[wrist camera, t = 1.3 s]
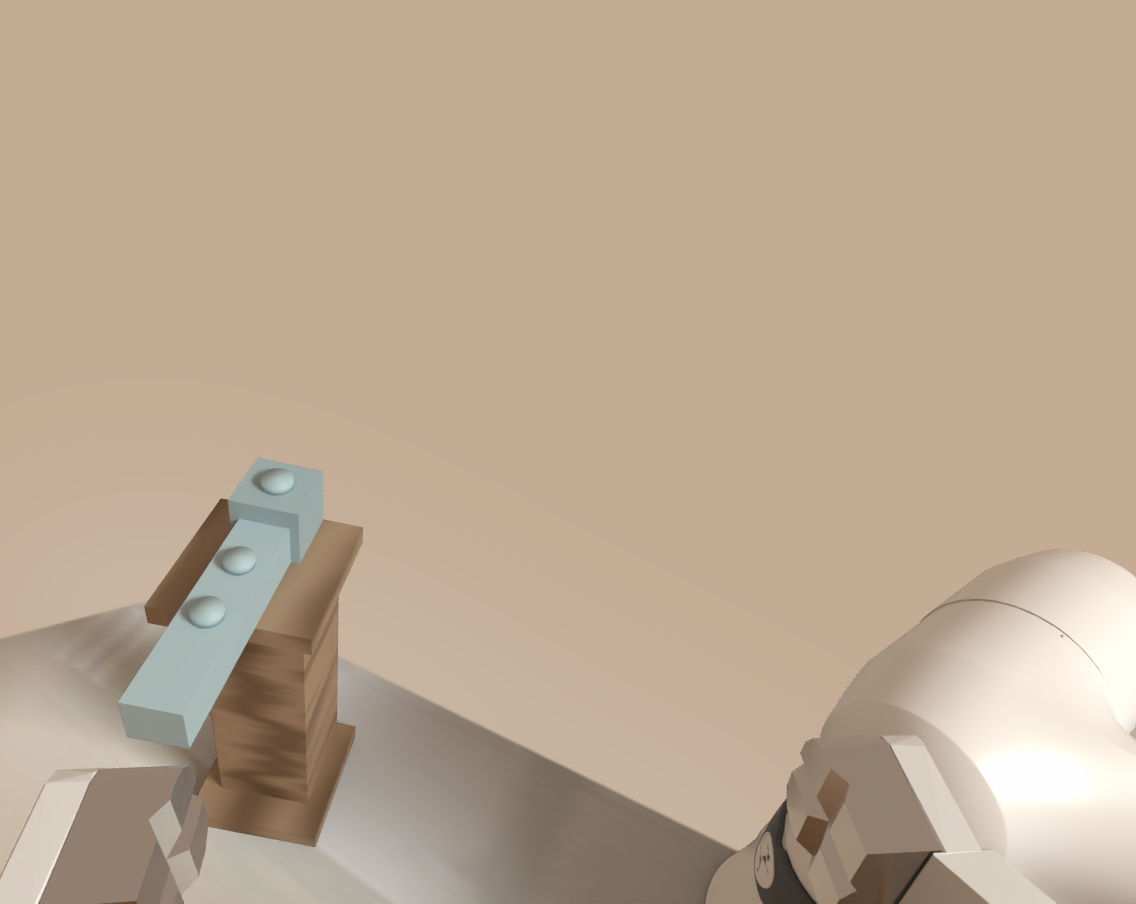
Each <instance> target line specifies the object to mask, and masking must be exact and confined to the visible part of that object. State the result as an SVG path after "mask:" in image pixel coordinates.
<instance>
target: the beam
mask: <svg viewBox="0 0 1136 904" xmlns="http://www.w3.org/2000/svg"><path fill="white" fill-rule="evenodd" d="M228 506H229V516H230V526H231V532H230V533H229V535H228V536H227V538H226V539H225V541H224V542H223V544H222V545H221V547H220V548H219V550H218V551H217V553H216V554H215V556H214V557H213V559H212V560H211V562H210V563H209V565H208V567H207V568H206V570H205V571H204V573H203V574H202V576H201V577H200V579H199V580H198V582H197V583H196V585H195V586H194V588H193V589H192V591H191V592H190V594H189V595H188V597H187V598H186V600H185V601H184V603H183V604H182V606H181V607H180V609H179V610H178V612H177V614H176V615H175V617H174V618H173V620H172V621H171V623H170V624H169V626H168V627H167V629H166V630H165V632H164V633H163V635H162V636H161V638H160V639H159V641H158V642H157V644H156V645H155V647H154V648H153V650H152V651H151V653H150V654H149V656H148V657H147V659H146V660H145V662H144V664H143V665H142V667H141V668H140V670H139V671H138V673H137V674H136V676H135V677H134V679H133V680H132V682H131V683H130V685H129V686H128V688H127V689H126V691H125V692H124V694H123V695H122V697H121V698H120V700H119V701H118V705H119V709H120V712H121V716H122V720H123V723H124V727H125V731H126V734H127V737H130V738H135V739H141V740H146V741H151V742H156V743H161V744H166V745H172V746H177V747H182V748H187V749H190V747H191V745H192V743H193V742H194V740H195V738H196V736H197V734H198V732H199V731H200V729H201V727H202V725H203V723H204V721H205V719H206V718H207V716H208V714H209V712H210V710H211V708H212V707H213V705H214V703H215V701H216V699H217V697H218V695H219V694H220V692H221V690H222V688H223V686H224V684H225V683H226V681H227V679H228V677H229V675H230V673H231V672H232V670H233V668H234V666H235V664H236V662H237V660H238V659H239V657H240V655H241V653H242V651H243V649H244V648H245V646H246V644H247V642H248V640H249V638H250V636H251V635H252V633H253V631H254V629H255V627H256V625H257V624H258V622H259V620H260V618H261V616H262V614H263V612H264V611H265V609H266V607H267V605H268V603H269V601H270V600H271V598H272V596H273V594H274V592H275V590H276V589H277V587H278V585H279V583H280V581H281V579H282V577H283V576H284V574H285V572H286V570H287V568H288V566H289V565H290V563H291V562H293V563H298V564H300V563H301V561H302V559H303V557H304V555H305V553H306V551H307V550H308V548H309V546H310V544H311V542H312V540H313V538H314V536H315V534H316V532H317V531H318V529H319V527H320V525H321V523H322V521H323V471H319V470H314V469H310V468H305V467H300V466H295V465H290V464H285V463H281V462H276V461H271V460H266V459H261V458H257V459H256V461H255V462H254V464H253V465H252V466H251V468H250V469H249V471H248V472H247V474H246V475H245V477H244V478H243V479H242V481H241V482H240V484H239V485H238V486H237V488H236V489H235V491H234V492H233V494H232V495H231V496H230V498H229V499H228Z"/></svg>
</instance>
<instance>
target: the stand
mask: <svg viewBox="0 0 1136 904" xmlns="http://www.w3.org/2000/svg"><path fill="white" fill-rule="evenodd" d="M230 532H231V526H230V516H229V506H228V500H226V499H220V501H219V502H218V503H217V505H216V506H215V508H214V509H213V511H212V512H211V513H210V515H209V516H208V517H207V519H206V520H205V522H204V523H203V524H202V526H201V527H200V529H199V530H198V532H197V533H196V535H195V536H194V537H193V539H192V540H191V542H190V543H189V544H188V546H187V547H186V548H185V550H184V551H183V553H182V554H181V555H180V557H179V558H178V560H177V561H176V562H175V564H174V565H173V567H172V568H171V570H170V571H169V572H168V574H167V575H166V577H165V578H164V579H163V581H162V582H161V584H160V585H159V586H158V588H157V589H156V591H155V592H154V593H153V595H152V596H151V598H150V599H149V600H148V602H147V603H146V605H145V606H144V607H145V612H146V616H147V621H148V623H152V624H157V625H162V626H167V627H168V626H169V624H170V623H171V621H172V620H173V618H174V617H175V615H176V614H177V612H178V610H179V609H180V607H181V606H182V604H183V603H184V601H185V600H186V598H187V597H188V595H189V594H190V592H191V591H192V589H193V588H194V586H195V585H196V583H197V582H198V580H199V579H200V577H201V576H202V574H203V573H204V571H205V570H206V568H207V567H208V565H209V563H210V562H211V560H212V559H213V557H214V556H215V554H216V553H217V551H218V550H219V548H220V547H221V545H222V544H223V542H224V541H225V539H226V538H227V536H228V535H229V533H230ZM362 537H363V528H362V527H357V526H353V525H348V524H343V523H338V522H333V521H328V520H324V519H323V521H322V523H321V525H320V527H319V529H318V531H317V532H316V534H315V536H314V538H313V540H312V542H311V544H310V546H309V548H308V550H307V551H306V553H305V555H304V557H303V559H302V561H301V563H300V564H298V563H293V562H291V563H290V565H289V566H288V568H287V570H286V572H285V574H284V576H283V577H282V579H281V581H280V583H279V585H278V587H277V589H276V590H275V592H274V594H273V596H272V598H271V600H270V601H269V603H268V605H267V607H266V609H265V611H264V612H263V614H262V616H261V618H260V620H259V622H258V624H257V625H256V627H255V629H254V631H253V633H252V635H251V636H250V638H249V640H248V642H247V644H246V646H245V648H244V649H243V651H242V653H241V655H240V657H239V659H238V660H237V662H236V664H235V666H234V668H233V670H232V672H231V673H230V675H229V677H228V679H227V681H226V683H225V684H224V686H223V688H222V690H221V692H220V694H219V695H218V697H217V699H216V701H215V703H214V705H213V707H212V708H211V710H210V713H211V719H212V726H213V732H214V739H215V745H216V752H217V758H216V760H215V762H214V764H213V766H212V768H211V770H210V772H209V774H208V776H207V778H206V780H205V782H204V784H203V786H202V788H201V790H200V792H199V794H198V797H199V798H201V799H203V800H204V803H205V806H206V810H207V819H208V827H213V828H218V829H224V830H229V831H234V832H239V833H245V834H250V835H255V836H260V837H266V838H271V839H276V840H281V841H287V842H292V843H297V844H303V845H308V846H313V847H315V846H316V843H317V841H318V838H319V835H320V832H321V829H322V827H323V824H324V821H325V818H326V815H327V813H328V810H329V807H330V804H331V801H332V799H333V796H334V793H335V790H336V787H337V785H338V782H339V779H340V776H341V773H342V771H343V768H344V765H345V762H346V759H347V757H348V754H349V751H350V748H351V745H352V743H353V740H354V737H355V726H350V725H345V724H340V723H337V668H338V596H339V594H340V591H341V589H342V587H343V585H344V582H345V580H346V578H347V576H348V574H349V571H350V569H351V567H352V565H353V562H354V560H355V558H356V556H357V554H358V551H359V549H360V547H361V545H362V539H363V538H362Z"/></svg>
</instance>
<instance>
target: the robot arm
mask: <svg viewBox="0 0 1136 904" xmlns="http://www.w3.org/2000/svg"><path fill="white" fill-rule="evenodd" d="M1135 726H1136V578H1135V577H1134V576H1133V575H1132V574H1130V573H1129V572H1128V571H1126V570H1125V569H1123V568H1122V567H1120V566H1119V565H1117V564H1115V563H1113V562H1111V561H1109V560H1107V559H1105V558H1102V557H1100V556H1097V555H1094V554H1091V553H1087V552H1083V551H1078V550H1070V549H1053V550H1046V551H1041V552H1038V553H1034V554H1030V555H1026V556H1023V557H1019V558H1016V559H1013V560H1011V561H1008V562H1005V563H1002V564H1000V565H996V566H994V567H992V568H990V569H988V570H986V571H984V572H982V573H981V574H980V575H978V576H977V577H976V578H975V579H973V580H972V581H971V582H969V583H968V584H967V585H965V586H964V587H963V588H961V589H960V590H959V591H957V592H956V593H955V594H954V595H952V596H951V597H949V598H948V599H947V600H946V601H944V602H943V603H941V604H940V605H939V606H937V607H936V608H935V609H934V610H932V611H931V612H930V613H929V614H928V615H926V616H925V617H924V618H923V619H922V620H921V622H920V623H919V624H917V625H916V626H915V627H913V628H912V629H911V630H909V631H908V632H907V633H905V634H904V635H903V636H901V637H900V638H899V639H897V640H896V641H895V642H894V643H892V644H891V645H889V646H888V647H887V648H885V649H884V650H883V651H881V652H880V653H879V654H877V655H876V656H875V657H873V658H872V659H871V660H870V661H868V662H867V663H866V665H865V666H864V667H863V668H862V669H861V670H860V671H859V673H858V674H857V675H856V677H855V678H854V679H853V681H852V682H851V684H850V685H849V686H848V688H847V689H846V690H845V692H844V693H843V695H842V696H841V698H840V699H839V701H838V703H837V704H836V706H835V707H834V709H833V710H832V712H831V713H830V715H829V716H828V718H827V720H826V721H825V723H824V726H823V728H822V731H821V735H820V738H813V739H810V740H809V741H807V742H805V744H804V746H803V748H802V750H801V756H802V759H803V761H804V764H803V765H801V766H800V767H798V768H797V769H795V770H794V771H792V773H791V776H790V779H789V782H788V784H787V798H786V800H785V801H784V802H783V803H782V805H781V806H780V807H779V809H778V810H777V811H776V813H775V814H774V816H773V817H772V819H771V820H770V822H769V823H768V824H767V825H766V826H765V827H764V828H763V829H762V830H761V831H760V833H759V835H758V837H757V838H756V839H755V840H754V841H753V842H751V843H750V844H749V845H748V846H746V847H745V848H743V849H742V850H740V851H738V852H737V853H735V854H733V855H732V856H730V857H729V858H728V859H727V860H726V861H725V862H723V864H722V865H721V866H720V867H719V868H718V870H717V871H716V873H715V874H714V876H713V878H712V880H711V882H710V885H709V888H708V891H707V896H706V901H705V904H1136V740H1135V739H1134V738H1133V737H1132V736H1131V735H1130V733H1131V731H1132V730H1133V729H1134V727H1135ZM196 781H197V779H196V777H195V774H194V772H193V769H192V767H191V765H185V766H160V767H136V768H112V769H108V768H93V769H74V770H56V772H55V773H54V774H53V775H52V776H51V778H50V779H49V780H48V781H47V782H46V783H45V785H44V786H43V788H42V790H41V792H40V794H39V796H38V798H37V801H36V803H35V805H34V807H33V809H32V811H31V813H30V815H29V817H28V819H27V821H26V824H25V826H24V828H23V830H22V832H21V834H20V836H19V838H18V840H17V842H16V844H15V846H14V849H13V851H12V853H11V855H10V857H9V859H8V861H7V863H6V865H5V867H4V869H3V872H2V874H1V876H0V904H184V901H183V899H182V896H181V895H182V893H183V892H184V891H185V890H186V889H187V888H188V887H189V886H190V885H191V884H192V883H193V882H194V881H195V880H196V879H197V878H198V876H199V874H200V870H201V866H202V862H203V858H204V854H205V849H206V840H207V832H208V819H207V810H206V806H205V803H204V800H203V799H201V798H199V797H198V796H196V795H194V794H193V791H194V788H195V784H196Z"/></svg>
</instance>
